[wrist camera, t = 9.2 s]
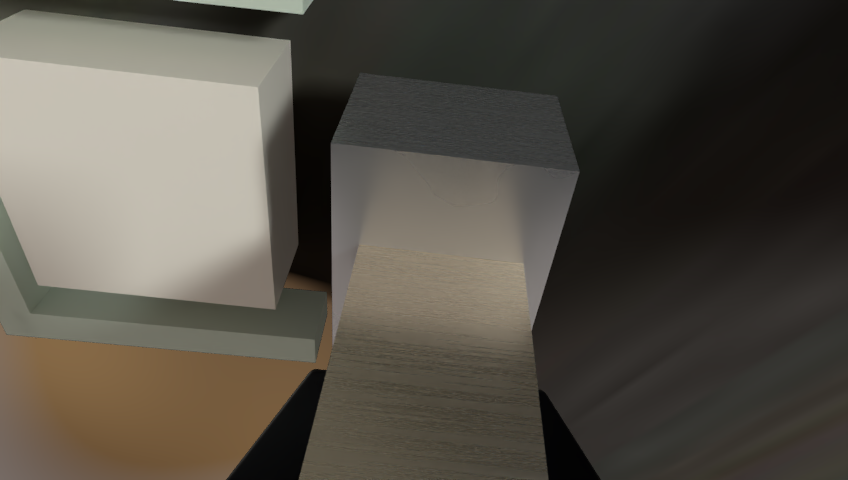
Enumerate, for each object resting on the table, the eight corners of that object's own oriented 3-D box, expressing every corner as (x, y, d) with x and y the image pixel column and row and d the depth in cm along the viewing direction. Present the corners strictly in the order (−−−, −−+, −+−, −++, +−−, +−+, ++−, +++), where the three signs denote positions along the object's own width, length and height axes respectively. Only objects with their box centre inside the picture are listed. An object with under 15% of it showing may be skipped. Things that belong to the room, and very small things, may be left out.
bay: (321, -65, 12) (301, -45, 10) (327, 314, 18) (315, 362, 17) (-127, -115, 11) (-221, -102, 10) (45, 288, 18) (6, 334, 16)
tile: (292, 36, 13) (258, 87, 11) (300, 238, 17) (275, 309, 14) (32, 5, 13) (-62, 50, 11) (96, 216, 17) (37, 285, 14)
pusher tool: (556, 95, 11) (752, 752, 3) (497, 333, 16) (523, 871, 8) (359, 72, 11) (105, 678, 3) (354, 317, 16) (233, 839, 8)
